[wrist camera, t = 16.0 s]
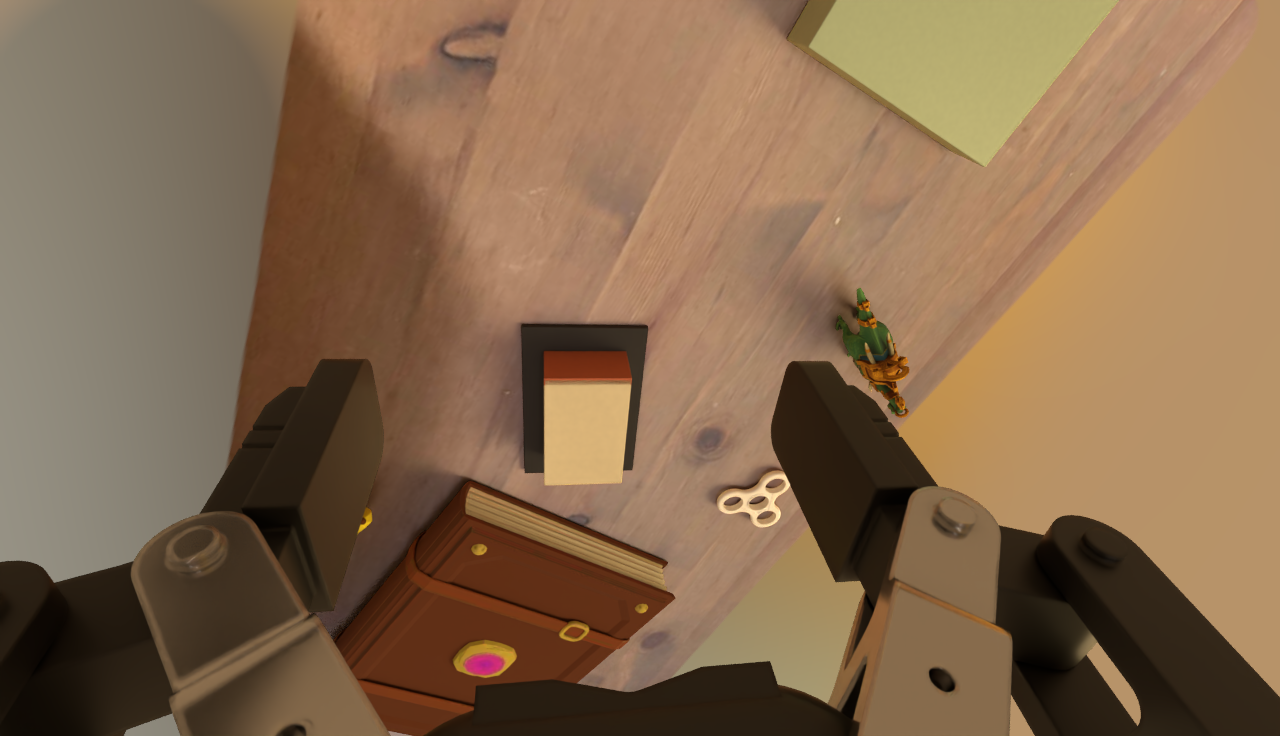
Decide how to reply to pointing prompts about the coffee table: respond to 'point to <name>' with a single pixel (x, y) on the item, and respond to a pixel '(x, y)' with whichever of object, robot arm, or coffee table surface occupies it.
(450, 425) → the coffee table surface
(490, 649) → the book
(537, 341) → the felt pad
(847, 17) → the bottom book
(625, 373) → the top book
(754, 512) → the fidget spinner
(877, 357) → the figurine
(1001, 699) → the robot arm
